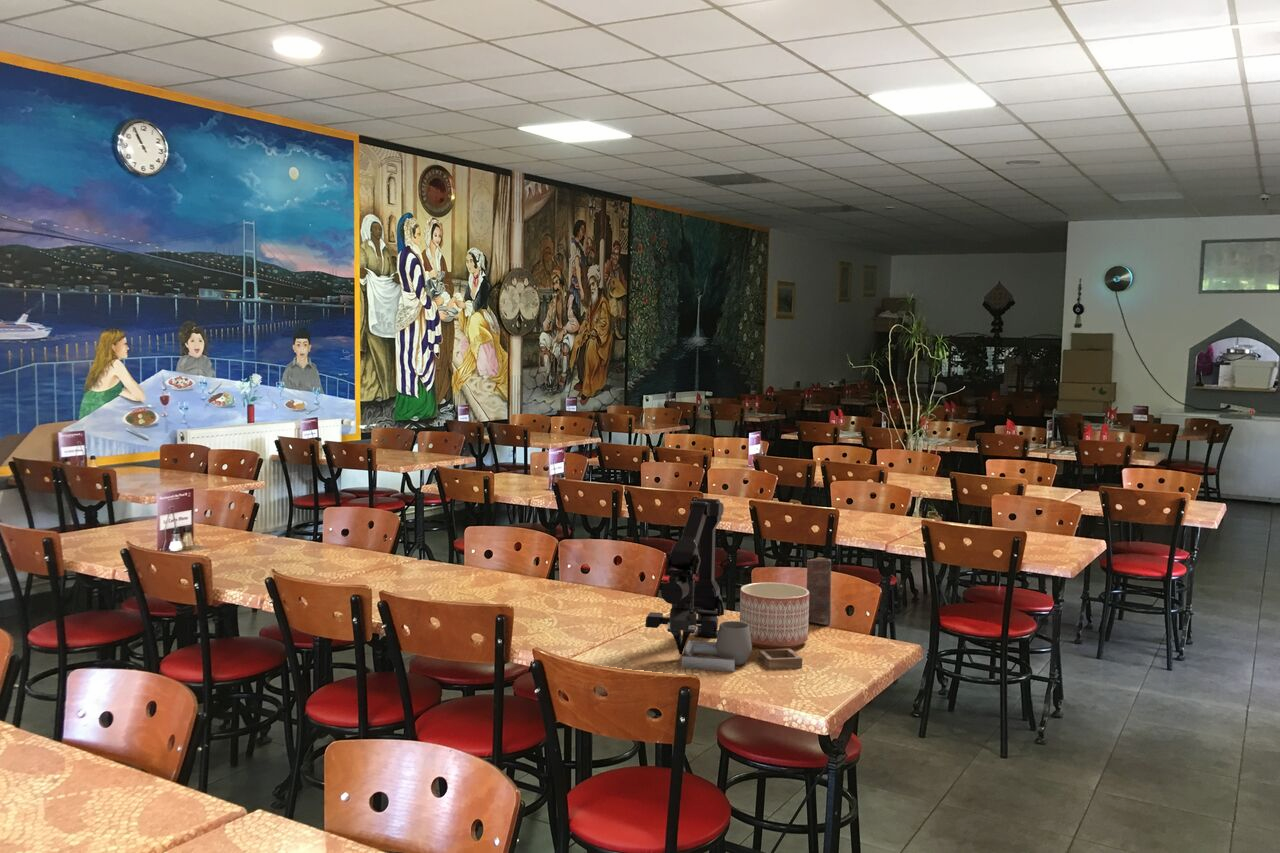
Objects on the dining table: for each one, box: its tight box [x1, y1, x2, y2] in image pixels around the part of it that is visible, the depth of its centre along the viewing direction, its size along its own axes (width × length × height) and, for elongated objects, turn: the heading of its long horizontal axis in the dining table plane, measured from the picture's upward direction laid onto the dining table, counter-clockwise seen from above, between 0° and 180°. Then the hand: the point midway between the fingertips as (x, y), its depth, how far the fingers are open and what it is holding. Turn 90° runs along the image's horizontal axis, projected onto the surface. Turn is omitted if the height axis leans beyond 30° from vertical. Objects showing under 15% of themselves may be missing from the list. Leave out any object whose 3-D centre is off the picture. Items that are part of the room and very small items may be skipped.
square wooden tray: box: [757, 648, 803, 670], centre depth 260 cm, size 9×9×2 cm
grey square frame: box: [681, 640, 736, 672], centre depth 261 cm, size 14×15×3 cm
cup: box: [715, 620, 753, 666], centre depth 260 cm, size 10×9×10 cm
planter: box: [739, 582, 809, 649], centre depth 280 cm, size 19×19×15 cm
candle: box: [806, 556, 832, 626], centre depth 300 cm, size 8×7×20 cm
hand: (680, 654), depth 262 cm, fingers closed
